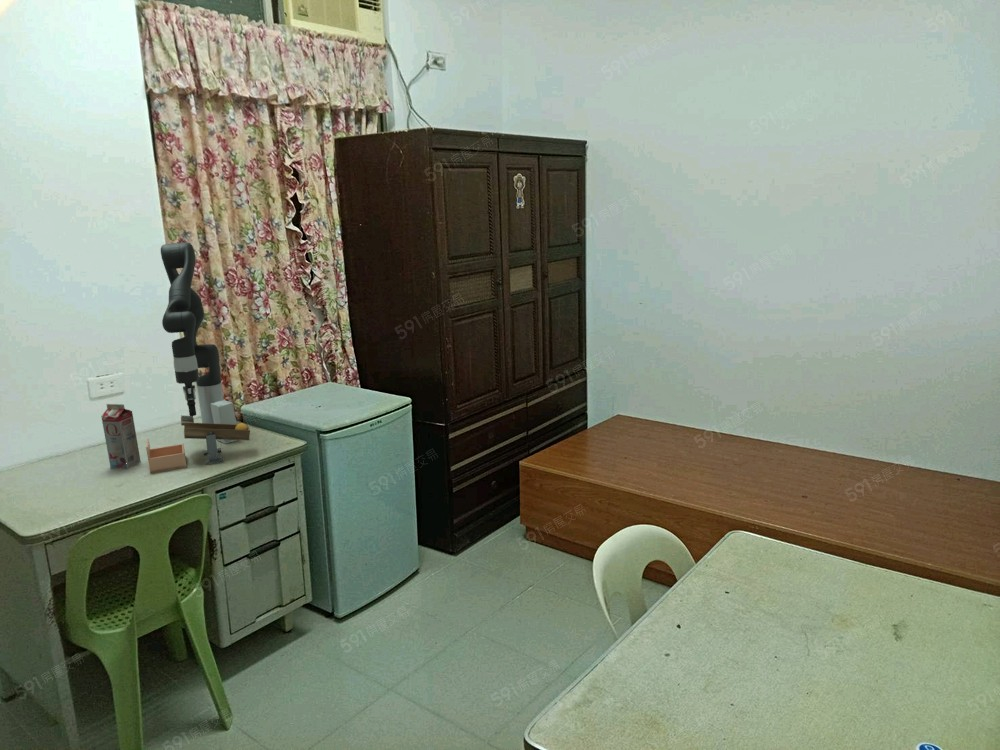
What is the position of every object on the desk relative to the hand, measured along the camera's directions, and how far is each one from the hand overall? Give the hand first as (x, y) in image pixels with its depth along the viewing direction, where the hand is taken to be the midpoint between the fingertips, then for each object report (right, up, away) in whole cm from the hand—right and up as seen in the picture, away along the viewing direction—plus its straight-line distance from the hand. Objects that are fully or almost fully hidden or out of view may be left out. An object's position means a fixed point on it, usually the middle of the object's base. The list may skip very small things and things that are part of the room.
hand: (192, 412), depth 250 cm
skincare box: (+6, -12, +16) cm, 21 cm away
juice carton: (-20, -18, -6) cm, 28 cm away
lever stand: (+8, -16, -2) cm, 18 cm away
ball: (+17, -6, 0) cm, 18 cm away
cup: (-5, -18, -8) cm, 20 cm away
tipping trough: (+7, -7, +1) cm, 10 cm away
